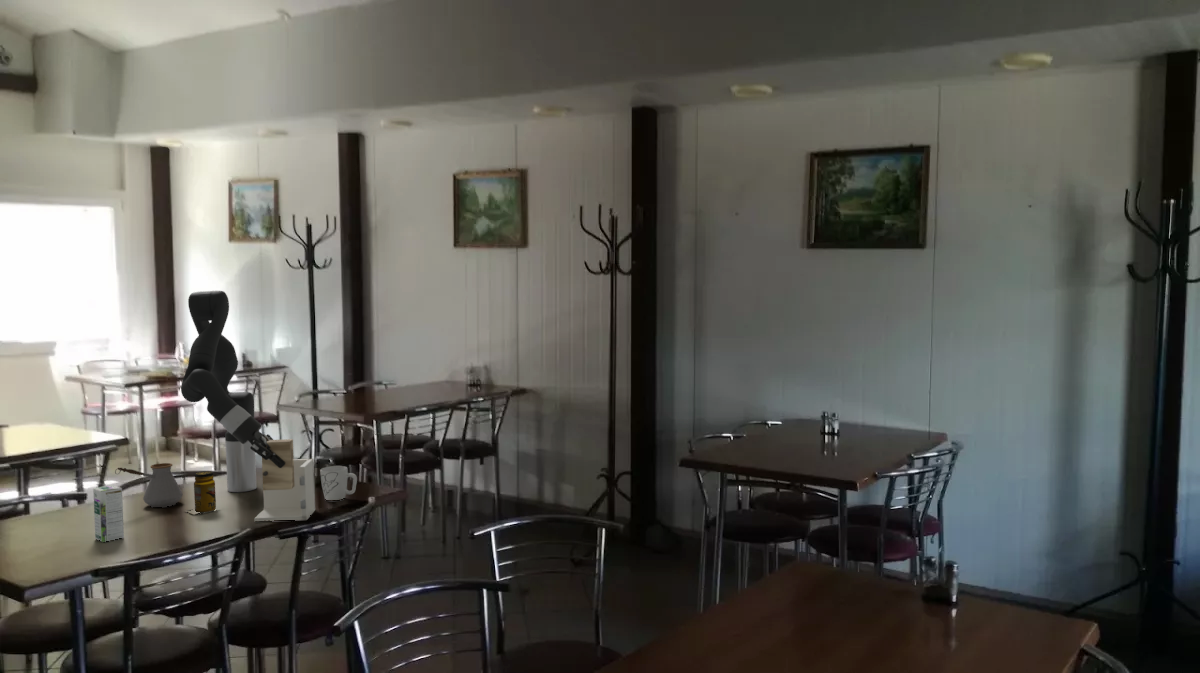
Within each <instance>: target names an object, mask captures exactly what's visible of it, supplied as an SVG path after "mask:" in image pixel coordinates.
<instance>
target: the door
mask: <svg viewBox="0 0 1200 673" xmlns="http://www.w3.org/2000/svg"><path fill="white" fill-rule="evenodd" d="M266 441H267V440H266ZM263 443H264V442H263ZM267 443H268V444H269V445H270V446H271V449H272V450H273V451H274V452H275V453H276V454H277V455H278V456H279V457H280V458H281V459H282V460H283V461H285V465H284V466H283V467H282V468H279V467H278V466H277V465H275V464H274V463H273V462H272V461H271V460H268V459H267V460H265V459H264V458H262V457H261V472H262V491H263V490H286V489H292V488H293V487H294V486H295V484H294V459H295V458H294V456H295V455H294V439H291V438H290V439H273V440H268V441H267ZM266 448H267V446H266ZM266 454H267V453H266Z"/></svg>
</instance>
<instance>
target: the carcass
mask: <svg viewBox="0 0 1200 673" xmlns="http://www.w3.org/2000/svg"><path fill="white" fill-rule="evenodd" d="M314 468H315V466H314V458H299V459H298V458H297V459H295V458H294V484H295V486H294V487H293V488H292V489H286V490H263V489H262V491H263V493H262V494H263V510H261V511H260V512H259V513H258V514H257V515H256V516H255V517H254V522H255V521H264V520H266V521H268V520H270V521H272V522H275V521H274V520H295V521H297V522H298V521H307V520H308V519H309V518H310V517H311V516H312V515H313V514H314V512H315V511H316V491H315V469H314ZM310 515H311V516H310ZM295 521H294V522H295Z"/></svg>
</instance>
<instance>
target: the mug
mask: <svg viewBox="0 0 1200 673" xmlns="http://www.w3.org/2000/svg"><path fill="white" fill-rule="evenodd" d="M319 471H320V472H319V473H320V474H319V475H320V481H321V488H322V492H323V498H324V500H325V499H326V500H339V499H343V498H346V495H353V494H354V493H355V492H356V488H357V483H358V482H357V481H358V477H357V475H356V474H355V473H353V472H349V470H348V467H347V466H344V465H333V466H326V467H322V468H321V469H319ZM349 478H352V485H351V488H352V489H351V490H348V479H349ZM326 500H325V501H326ZM343 500H344V499H343Z"/></svg>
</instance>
